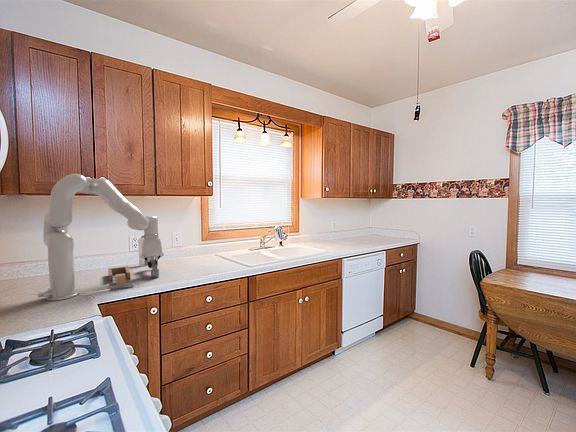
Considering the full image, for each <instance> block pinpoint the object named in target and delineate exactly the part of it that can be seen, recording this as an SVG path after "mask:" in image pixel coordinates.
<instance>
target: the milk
mask: <svg viewBox="0 0 576 432" xmlns="http://www.w3.org/2000/svg"><path fill="white" fill-rule="evenodd" d="M143 235H144V234H141V237H139V238H138V239H137V242H138V244H137V245H138V264H139V266H138V267H139V268H140V267H146V266H145V263H144V259H142V258H140V257H141V255H142V247H143V240H144V238H142V236H143Z"/></svg>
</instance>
